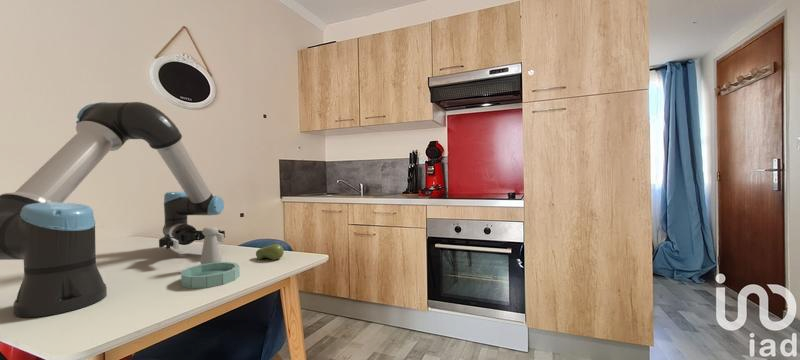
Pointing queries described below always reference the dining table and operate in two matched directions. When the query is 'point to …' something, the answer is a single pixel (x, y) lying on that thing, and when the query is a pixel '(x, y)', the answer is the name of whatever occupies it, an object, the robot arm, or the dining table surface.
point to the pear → (270, 252)
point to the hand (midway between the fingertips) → (201, 241)
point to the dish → (209, 275)
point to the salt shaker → (210, 246)
